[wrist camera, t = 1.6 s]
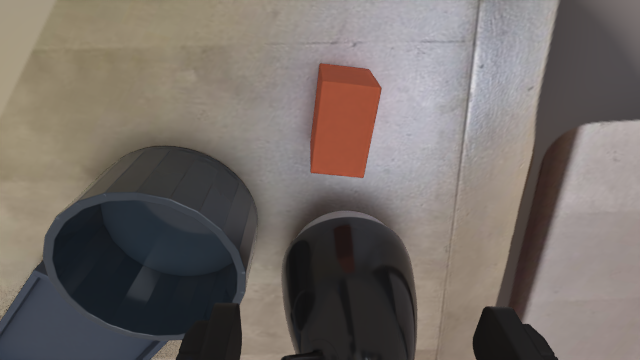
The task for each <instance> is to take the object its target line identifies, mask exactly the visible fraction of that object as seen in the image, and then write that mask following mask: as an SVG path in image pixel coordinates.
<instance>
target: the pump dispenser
mask: <svg viewBox="0 0 640 360" xmlns="http://www.w3.org/2000/svg"><path fill="white" fill-rule="evenodd" d="M282 294H283V303H284V310H285V316H286V321H287V325H288V330H289V334H290V337H291V341H292V344H293V347H294V350H295V353H296V354H295V355H288V356H284V357H283V358H282V359H281V360H414V359H415V351H416V341H417V298H416V289H415V282H414V275H413V269H412V265H411V261H410V257H409V254H408V252H407V249H406V247H405V245H404V243H403V242H402V240H401V239H400V238H399V236H398V235H397V234H396V233H395V232H393V231H392V230H391V229H389V228H388V227H386V226H385V225H384V224H383V223H382V222H380V221H379V220H377V219H376V218H374V217H372V216H369V215H367V214H364V213H361V212H356V211H336V212H331V213H328V214H325V215H322V216H320V217H318V218H316V219H315V220H313V221H312V222H310V223H309V224H308V225H307V226H305V227H304V228H303V229H302V231H301V232H300V233H299V234H298V236H297V237H296V238H295V239H294V240H293V242H292V243H291V244H290V246H289V247H288V249H287V251H286V253H285V256H284V259H283V264H282Z"/></svg>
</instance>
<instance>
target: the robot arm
mask: <svg viewBox="0 0 640 360" xmlns="http://www.w3.org/2000/svg"><path fill="white" fill-rule="evenodd" d="M241 346H242V330H241V319H240V307H239V303H215V304H214V306H213V309H212V312H211V316H210V319H209V321H207V320H196V321H195V323H194V324H193V325H192V326H191V327H190V329H189V330H188V331H187V332H186V333H185V335H184V337H183V340H182V343H181V346H180V349H179V354H178V355H177V357H176V360H240V355H241ZM473 350H474V354H475V357H476V359H477V360H558V358H557V357H555V356H554V352H553V351H552V349H551V348H550V346H549V345H548V343H547V342H546V340H545V339H544V337H543V336H541V335H540V334H539V333H538V332H537V331H536V330H535V329H534V328H533V327H531V326H530V325H529V324H522V322H521V321H520V319H519V317H518V316H517V314H516V313H515V311H514V310H513V309H512V308H511V307H492V306H487V307H485V308H484V309H483V311H482V314H481V317H480V320H479V322H478V325H477V328H476V331H475V333H474V336H473Z"/></svg>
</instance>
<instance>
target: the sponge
mask: <svg viewBox="0 0 640 360" xmlns="http://www.w3.org/2000/svg"><path fill="white" fill-rule="evenodd" d="M381 89H382V88H381V86H380V85H379V83H378V82H377V80H376V79H375V77H374V76H373V74H372V73H371V71H370V70H369V69H363V68H355V67H347V66H339V65H330V64H322V63H321V64H320V66H319V74H318V82H317V91H316V99H315V108H314V116H313V125H312V133H311V141H310V159H311V173H318V174H328V175H339V176H349V177H359V178H363V177H364V172H365V168H366V163H367V158H368V153H369V148H370V143H371V138H372V133H373V128H374V123H375V118H376V114H377V109H378V104H379V99H380V94H381Z"/></svg>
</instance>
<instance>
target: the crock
mask: <svg viewBox="0 0 640 360" xmlns="http://www.w3.org/2000/svg"><path fill="white" fill-rule="evenodd" d="M257 227H258V215H257V210H256V206H255V203H254V200H253V198H252V196H251V194H250V192H249V190H248V189H247V188H246V186H245V185H244V183H243V182H242V181H241V180H240V179H239V178H238V176H237V175H236V174H235V173H233V172H232V171H231V170H230V169H229V168H228V167H226V166H225V165H223V164H222V163H220V162H219V161H217V160H215V159H213V158H212V157H210V156H208V155H205V154H203V153H200V152H198V151H194V150H190V149H187V148H181V147H175V146H157V147H149V148H144V149H140V150H137V151H134V152H131V153H129V154H127V155H125V156H124V157H122V158H120V159H119V160H118V161H116V162H115V163H114V164H113V165H112V166H110V167H109V168H108V169H106V170H105V171H104V172H103V173H102V174H101V175H100V176H99V177H98V178H97V179H96V180H95V181H94V182H92V183H91V184H90V185H89V186H88V187H87V188H86V189H85V190H84V191H83V192H82V193H81V194H80V195H79V196H78V197H76V198H75V199H74V200H73V201H72V202H71V203H70V204H69V205H68V206H67V207H66V208H65V209H64V210H63V211H62V212H60V213H59V214H58V215H57V216H56V218H55V219H54V221H53V223H52V224H51V226H50V228H49V230H48V231H47V233H46V235H45V239H44V250H43V261H44V264H45V267H46V271H47V274H48V277H49V279H50V281H51V282H52V284H53V285H54V287H55V288H56V290H57V291H58V292H59V294H60V295H61V297H62V298H63V299H64V300H65V301H66V302H67V303H68V304H70V305H71V306H72V307H73V308H74V309H75V310H77V311H78V312H79V313H80V314H81V315H83V316H84V317H86V318H87V319H89V320H91V321H93V322H95V323H96V324H98V325H100V326H102V327H104V328H106V329H108V330H111V331H114V332H117V333H120V334H123V335H126V336H129V337H134V338H141V339H148V340H155V341H156V340H157V341H166V340H183V337H184V335H185V333H186V332H187V331H188V330H189V329H190V327H191V326H192V325H193V324H194V323H195V321H196V320H207V321H209V319H210V316H211V312H212V309H213V306H214V304H215V303H239V305H240V303H241V301H242V299H243V297H244V294H245V291H246V287H247V282H248V277H249V272H250V267H251V262H252V257H253V252H254V247H255V242H256V237H257Z"/></svg>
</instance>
